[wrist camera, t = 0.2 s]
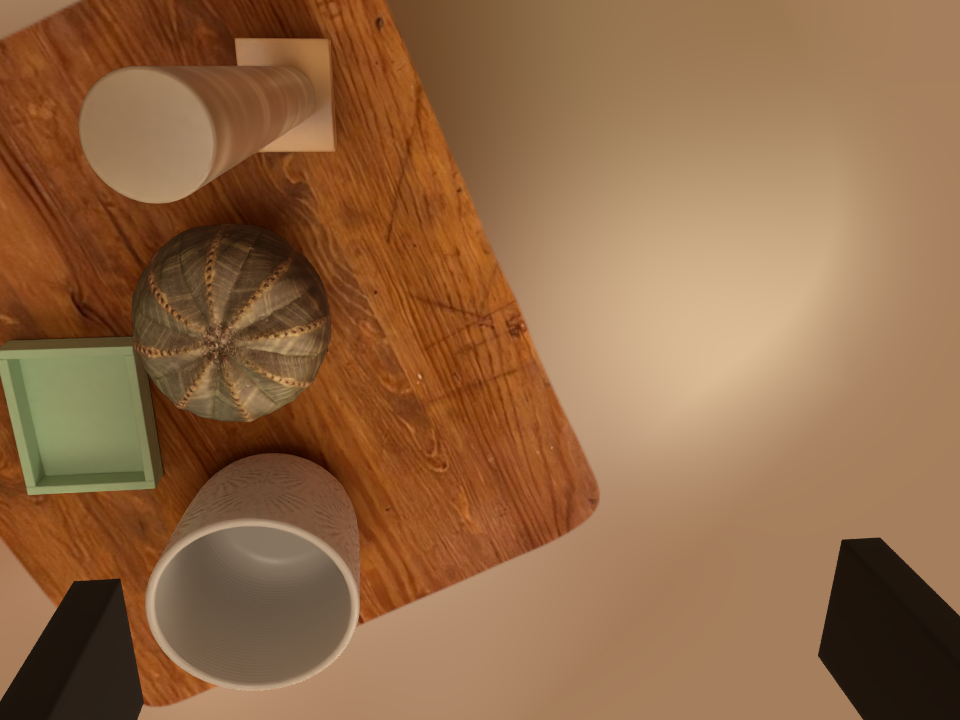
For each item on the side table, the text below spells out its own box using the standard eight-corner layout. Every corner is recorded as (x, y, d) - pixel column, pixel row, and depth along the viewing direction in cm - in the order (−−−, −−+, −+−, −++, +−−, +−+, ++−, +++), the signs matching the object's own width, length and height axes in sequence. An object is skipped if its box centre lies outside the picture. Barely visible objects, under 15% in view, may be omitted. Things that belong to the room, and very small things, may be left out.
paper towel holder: (245, 39, 45) (11, -2, 17) (332, 40, 46) (241, 1, 18) (255, 146, 47) (61, 261, 20) (338, 145, 48) (265, 257, 20)
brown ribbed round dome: (356, 349, 53) (347, 425, 42) (195, 383, 52) (143, 469, 41) (315, 189, 49) (293, 226, 38) (140, 225, 48) (66, 273, 37)
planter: (157, 470, 54) (104, 564, 44) (324, 409, 54) (308, 489, 44) (236, 605, 59) (204, 718, 49) (390, 549, 58) (390, 651, 48)
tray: (9, 340, 50) (-6, 350, 48) (141, 336, 51) (132, 346, 49) (40, 480, 54) (27, 495, 52) (163, 474, 54) (155, 488, 53)
